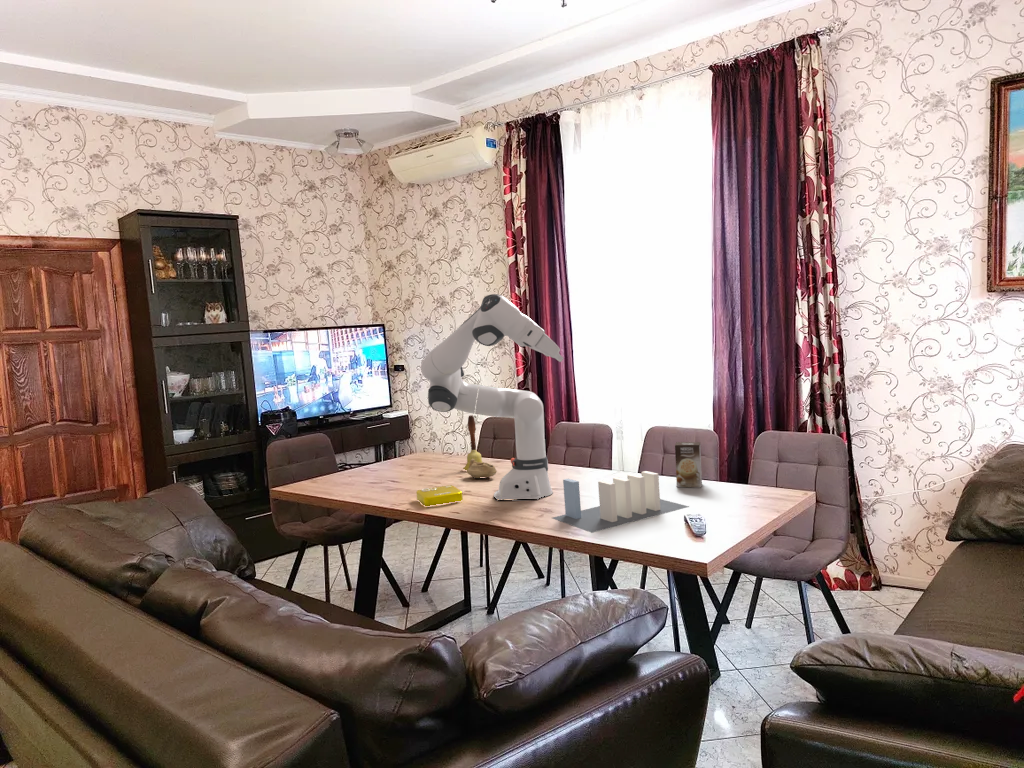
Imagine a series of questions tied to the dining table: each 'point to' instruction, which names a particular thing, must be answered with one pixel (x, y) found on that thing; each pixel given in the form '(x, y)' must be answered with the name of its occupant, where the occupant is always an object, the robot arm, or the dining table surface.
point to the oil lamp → (480, 469)
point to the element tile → (439, 495)
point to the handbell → (472, 443)
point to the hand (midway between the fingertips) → (555, 357)
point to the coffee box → (688, 464)
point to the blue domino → (572, 498)
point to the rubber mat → (594, 522)
